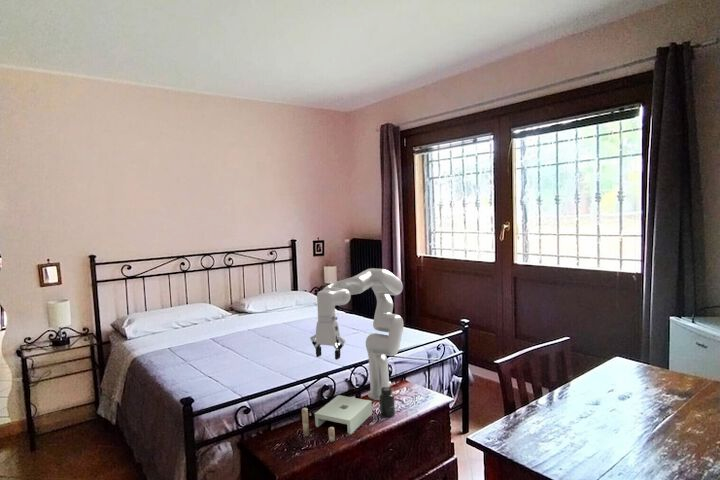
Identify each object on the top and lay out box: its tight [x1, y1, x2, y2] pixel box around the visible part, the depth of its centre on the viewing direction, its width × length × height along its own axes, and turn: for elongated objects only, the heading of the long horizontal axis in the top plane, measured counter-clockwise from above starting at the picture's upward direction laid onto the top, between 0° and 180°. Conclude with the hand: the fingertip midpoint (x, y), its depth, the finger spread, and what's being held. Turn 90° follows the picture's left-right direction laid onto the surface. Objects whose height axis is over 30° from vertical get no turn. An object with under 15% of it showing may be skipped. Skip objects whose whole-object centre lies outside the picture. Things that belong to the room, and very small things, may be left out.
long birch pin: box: [301, 407, 310, 437], centre depth 185 cm, size 2×2×11 cm
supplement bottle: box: [379, 387, 396, 418], centre depth 198 cm, size 7×7×12 cm
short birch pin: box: [327, 426, 336, 443], centre depth 179 cm, size 2×2×5 cm
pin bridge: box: [314, 394, 373, 435], centre depth 196 cm, size 20×18×6 cm
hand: (328, 357), depth 189 cm, fingers open, 9 cm apart
